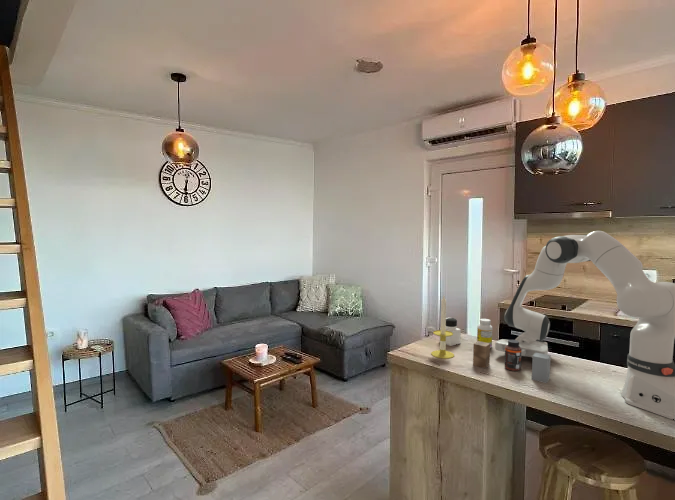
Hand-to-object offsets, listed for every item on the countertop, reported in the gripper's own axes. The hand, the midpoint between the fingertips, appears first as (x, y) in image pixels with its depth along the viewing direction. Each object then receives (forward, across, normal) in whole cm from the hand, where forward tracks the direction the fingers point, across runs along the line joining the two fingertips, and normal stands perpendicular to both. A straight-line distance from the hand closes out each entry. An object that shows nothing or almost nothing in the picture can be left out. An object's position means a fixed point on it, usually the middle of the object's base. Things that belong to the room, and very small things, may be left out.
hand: (516, 353), depth 158 cm
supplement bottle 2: (+4, 0, +5) cm, 7 cm away
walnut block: (+8, -11, +5) cm, 15 cm away
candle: (+7, -29, +5) cm, 30 cm away
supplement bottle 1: (-16, -18, +5) cm, 25 cm away
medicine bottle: (-11, -33, +5) cm, 35 cm away
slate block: (+8, +11, +5) cm, 15 cm away
